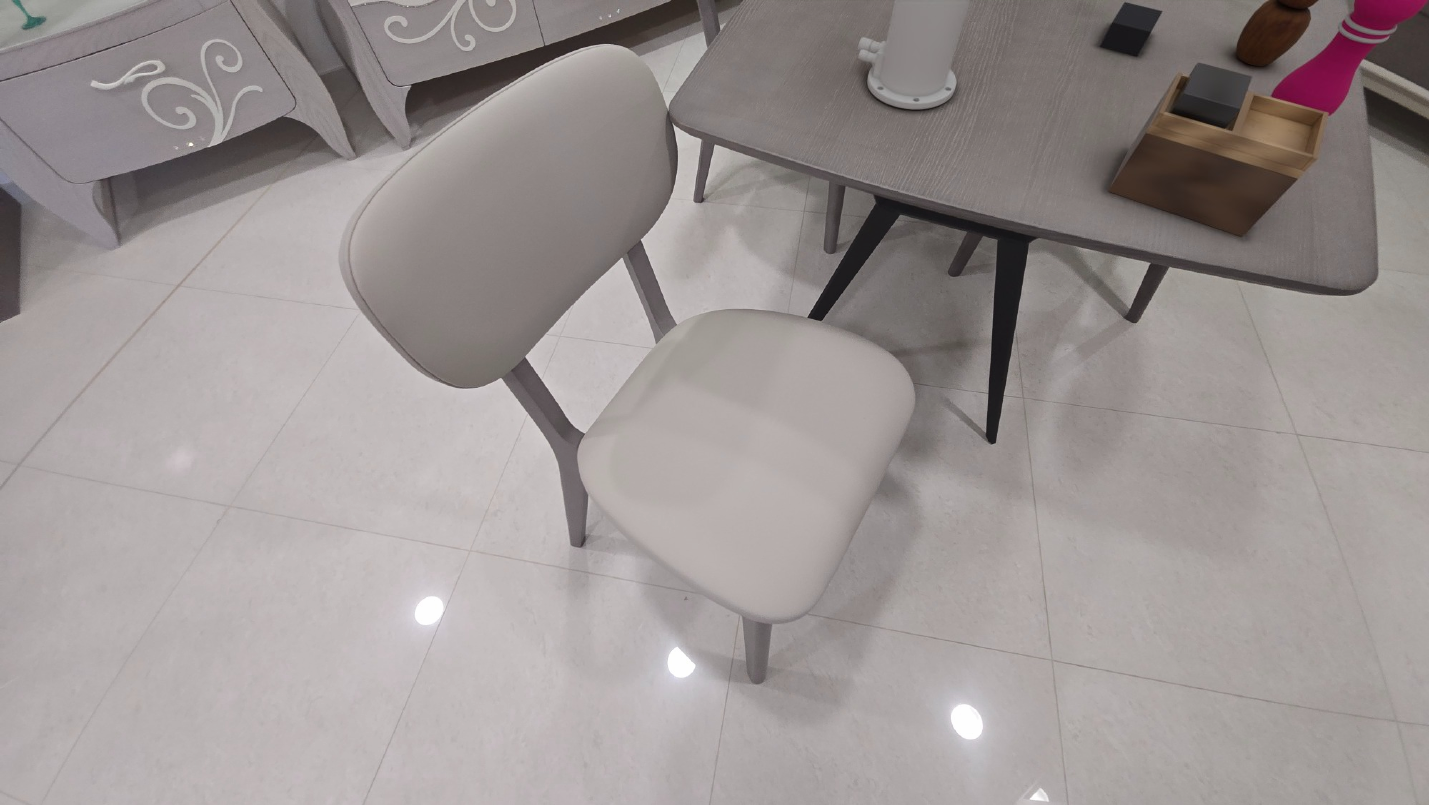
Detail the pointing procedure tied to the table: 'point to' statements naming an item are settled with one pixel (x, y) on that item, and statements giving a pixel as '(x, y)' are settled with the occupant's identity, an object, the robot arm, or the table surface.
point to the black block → (1130, 28)
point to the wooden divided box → (1219, 150)
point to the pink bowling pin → (1344, 54)
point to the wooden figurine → (1273, 30)
